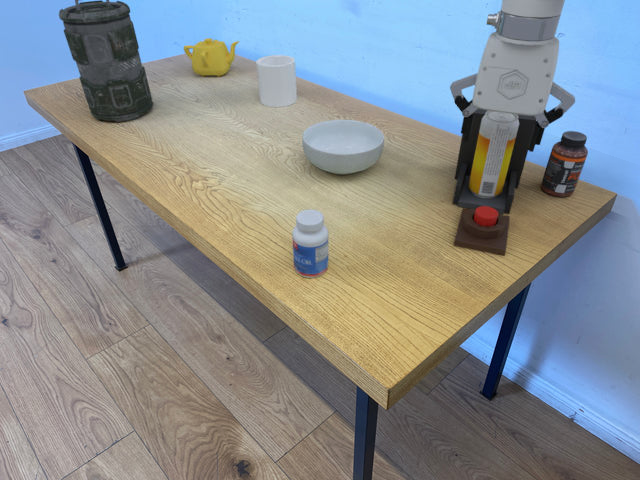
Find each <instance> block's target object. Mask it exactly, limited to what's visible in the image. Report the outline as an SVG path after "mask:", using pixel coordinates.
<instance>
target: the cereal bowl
mask: <svg viewBox="0 0 640 480" xmlns="http://www.w3.org/2000/svg"><path fill="white" fill-rule="evenodd" d="M301 140H302V141H301V142H302V149H303V153H304V155H305V157H306V158H307V160H308V161H309V162H310V163H311V164H312V165H313V166H314V167H316V168H318V169H320V170H322V171H325V172H328V173H331V174H334V175H351V174H354V173H359V172H362V171H365V170H367V169H369V168H370V167H373V165H375V164H376V163H377V161H379V159H380V157H381V156H382V153H383V150H384V147H385V146H384V145H385V136H384V132H383V131H382V130H381V129H380V128H378V127H377V126H375V125H374V124H371V123H368V122H366V121H361V120H355V119H330V120H324V121H319V122H317V123H314V124H312V125H310V126H308V127H307V128H305V130H303V133H302V137H301Z"/></svg>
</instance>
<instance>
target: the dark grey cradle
mask: <svg viewBox="0 0 640 480" xmlns="http://www.w3.org/2000/svg"><path fill="white" fill-rule="evenodd" d="M487 111H488V110H482V109H477V110H476V111H475V112H474V113H475V115H474V120H473V125H472V130H471V134H470V138H469V141H467V142H464V136H465V134H461V138H460V139H461V140H460V145H459V151H458V155H457V163H456V167H455V174H454V180H457V181H456V184H455V188H454V193H453V199H452V205H455V206H457V207H458V208H462V209H463V208H465V209H476V208H478V207H481V206H488V207H491V208H494V209H495V210H497V212H498V213H500V214H501V215H504V214H506V215H510V213H511V209H512V206H513V201H514V198H515V194H516V193H515V192H516V190H518V189H519V185H520V182H521V178H522V174H523V171H524V167H525V165H526V164H525V163H526V160H527V157H528V152H529V150H528V148H529V141H530V138H531V134H532V131H533V127H534V124H535V121H537V120H536V118H535V116H526V115H518V114H517V115H518V120H519V127H518V131H517V135H516V139H515V143H514V147H513V151H512V155H511V159H510V163H509V167H508V171H507V175H506V178H505V182H504V186H503V190H502V192H501V193H500V194H499V195H498V196H496V197H494V198H481V197H478V196H476V195H474V194H473V193H472V192H471V190H470V189H469V181H470V176H471V171H472V166H473V161H474V156H475V151H476V146H477V141H478V136H479V131H480V126H481V121H482V118H483V117H484V115H485V113H486V112H487Z"/></svg>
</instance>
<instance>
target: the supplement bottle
mask: <svg viewBox="0 0 640 480" xmlns="http://www.w3.org/2000/svg"><path fill="white" fill-rule="evenodd" d="M587 139H588V137H587V135H586V134H584V133H582V132H579V131H576V130H575V131H574V130H567V131H564V132H563V133H562V135H561V138H560V141H557V142H555V143H554V144H553V146H552V147H551V151H550V154H549V157H548V160H547V164H546V167H545V169H544V173H543V176H542V179H541V182H540V187H541V190H543V191H544V192H545V193H546V194H548V195H551V196H554V197H558V198H564V197H569V196H571V195H573V194H574V192H575V190H576V187H577V185H578V182H579V180H580V176H581V175H582V172H583V168H584V165H585V163H586V160H587V157H588V154H589V150H588V148H587V147H586V143H587Z"/></svg>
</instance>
